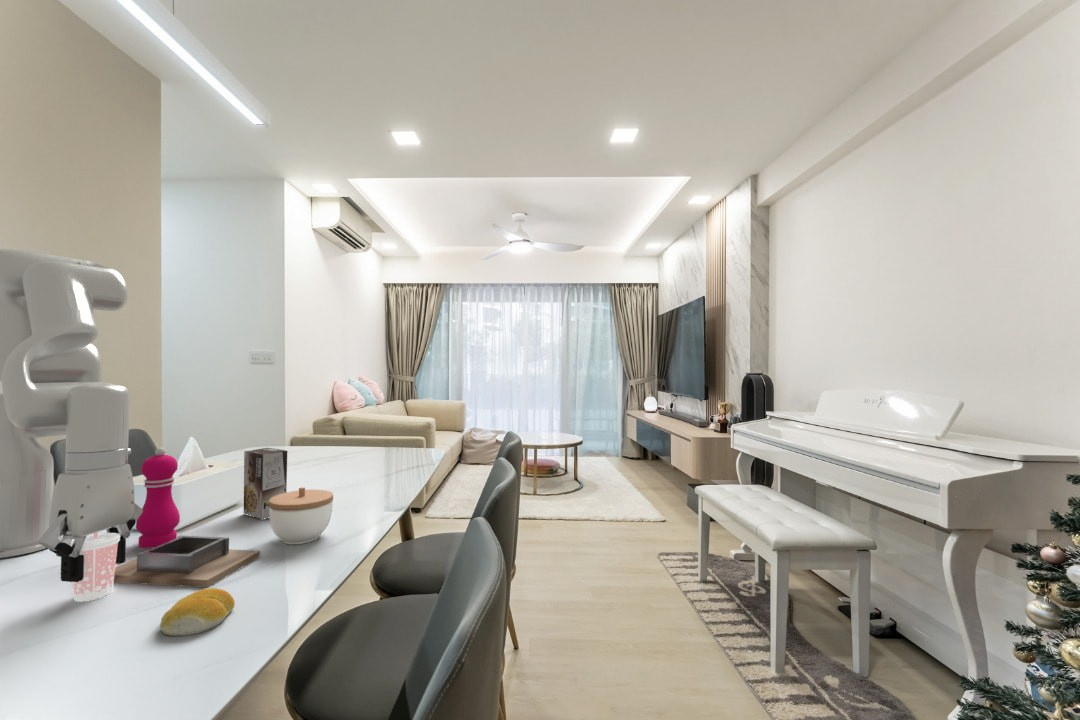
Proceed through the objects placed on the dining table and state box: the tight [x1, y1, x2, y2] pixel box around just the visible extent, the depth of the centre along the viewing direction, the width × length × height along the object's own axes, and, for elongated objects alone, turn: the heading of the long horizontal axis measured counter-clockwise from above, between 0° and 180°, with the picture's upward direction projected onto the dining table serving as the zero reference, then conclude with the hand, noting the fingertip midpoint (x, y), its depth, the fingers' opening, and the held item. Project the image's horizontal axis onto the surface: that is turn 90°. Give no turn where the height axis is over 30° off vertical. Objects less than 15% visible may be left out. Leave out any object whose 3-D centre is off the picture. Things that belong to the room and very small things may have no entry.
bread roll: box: [159, 587, 235, 637], centre depth 70 cm, size 8×9×4 cm
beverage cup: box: [70, 532, 120, 603], centre depth 77 cm, size 6×6×14 cm
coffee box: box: [243, 447, 288, 520], centre depth 120 cm, size 9×6×16 cm
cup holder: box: [114, 535, 261, 588], centre depth 87 cm, size 20×13×4 cm, turn 85°
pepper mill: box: [135, 447, 181, 549], centre depth 100 cm, size 7×7×20 cm
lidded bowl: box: [268, 486, 334, 546], centre depth 103 cm, size 13×13×11 cm
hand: (94, 570), depth 77 cm, fingers closed on beverage cup, 6 cm apart
